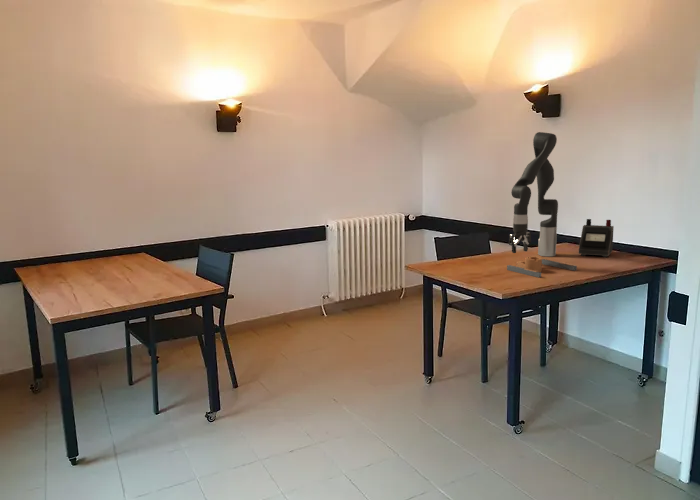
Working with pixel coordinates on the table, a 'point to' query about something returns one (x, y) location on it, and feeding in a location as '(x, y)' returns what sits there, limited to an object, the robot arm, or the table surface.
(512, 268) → the guide rails
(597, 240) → the voltmeter
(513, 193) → the robot arm
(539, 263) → the bracket
